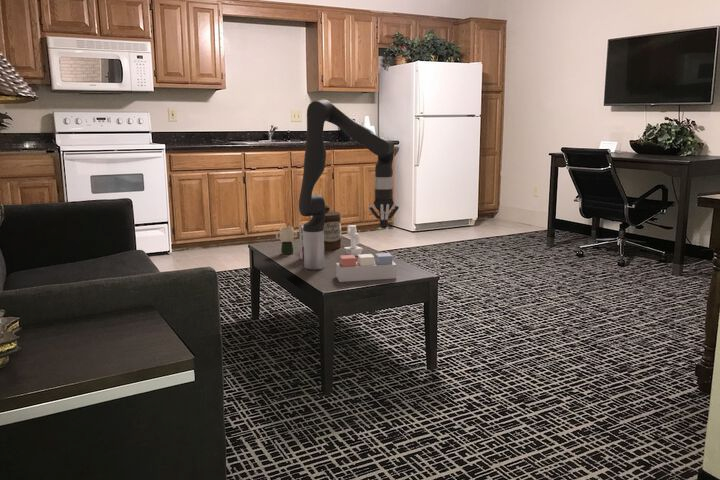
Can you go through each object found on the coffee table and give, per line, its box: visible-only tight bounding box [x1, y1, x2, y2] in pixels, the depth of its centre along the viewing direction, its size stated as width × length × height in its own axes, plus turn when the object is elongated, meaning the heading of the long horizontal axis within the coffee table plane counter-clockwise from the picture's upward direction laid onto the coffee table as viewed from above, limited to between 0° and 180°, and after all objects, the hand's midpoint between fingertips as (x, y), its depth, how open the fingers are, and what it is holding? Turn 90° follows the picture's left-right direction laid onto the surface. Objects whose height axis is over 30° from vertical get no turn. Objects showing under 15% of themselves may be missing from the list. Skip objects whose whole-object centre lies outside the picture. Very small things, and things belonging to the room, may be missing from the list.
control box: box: [335, 260, 397, 283], centre depth 250 cm, size 9×24×6 cm, turn 101°
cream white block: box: [357, 253, 375, 266], centre depth 249 cm, size 6×6×5 cm
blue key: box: [374, 252, 393, 265], centre depth 250 cm, size 6×6×5 cm
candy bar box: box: [298, 225, 304, 261], centre depth 283 cm, size 11×5×16 cm, turn 112°
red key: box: [339, 254, 357, 267], centre depth 247 cm, size 6×6×5 cm
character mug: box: [275, 226, 298, 255], centre depth 294 cm, size 11×7×13 cm, turn 111°
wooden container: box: [324, 205, 342, 251], centre depth 308 cm, size 15×15×22 cm
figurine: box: [343, 224, 364, 257], centre depth 289 cm, size 7×9×15 cm
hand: (383, 228), depth 247 cm, fingers closed
